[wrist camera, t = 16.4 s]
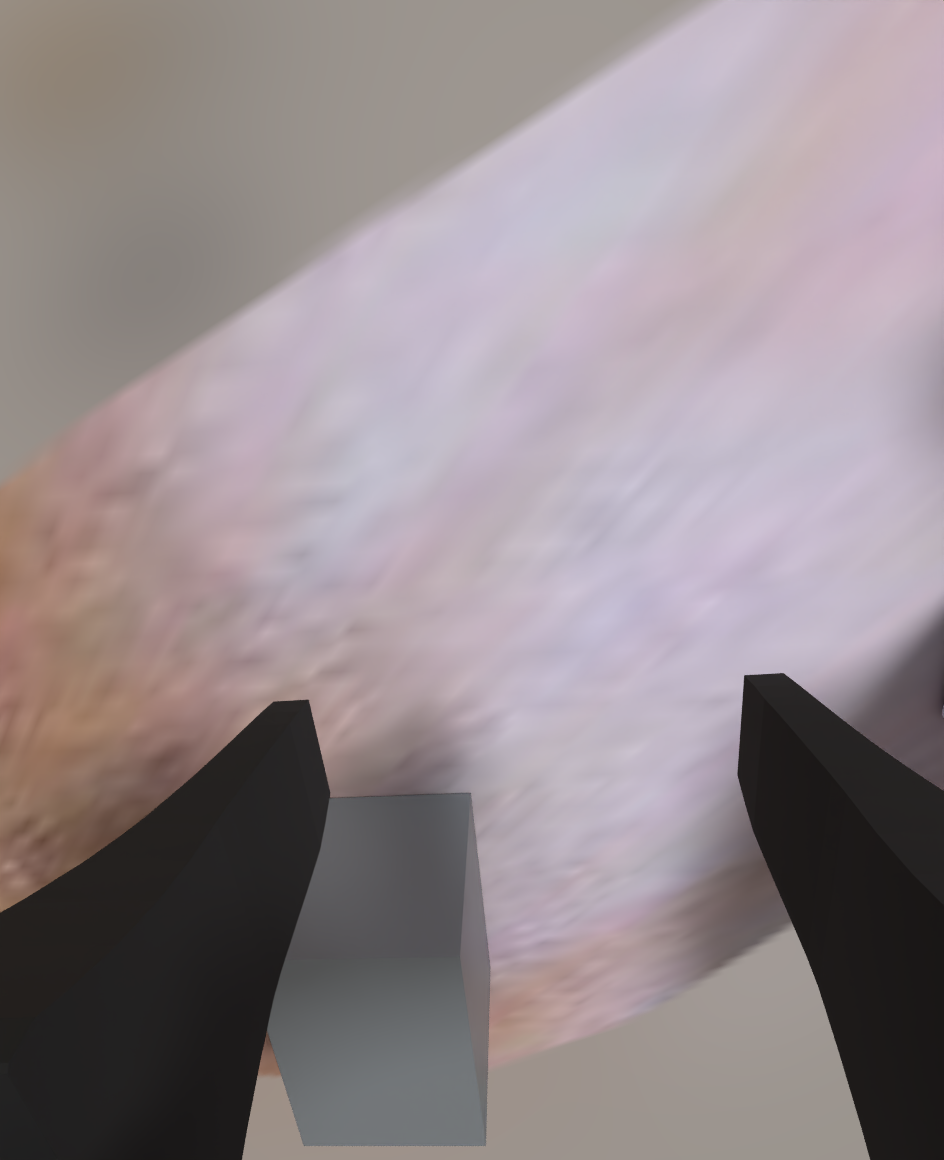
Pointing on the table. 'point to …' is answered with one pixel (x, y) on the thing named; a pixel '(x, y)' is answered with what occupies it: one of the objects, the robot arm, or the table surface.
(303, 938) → the gray block
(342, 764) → the table surface
